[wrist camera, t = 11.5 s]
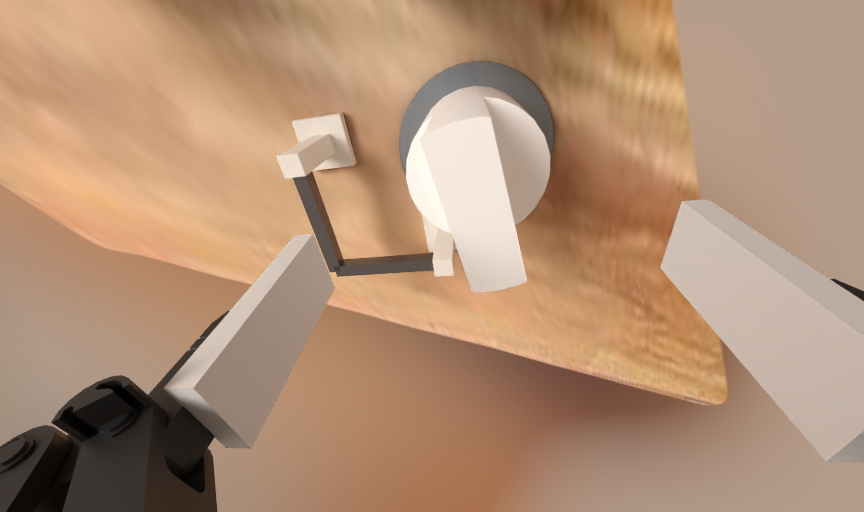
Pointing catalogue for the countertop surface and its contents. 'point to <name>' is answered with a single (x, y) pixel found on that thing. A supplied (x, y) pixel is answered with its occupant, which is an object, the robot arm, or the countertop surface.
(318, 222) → the bent wire
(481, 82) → the coaster
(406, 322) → the countertop surface
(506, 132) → the base with upright slab
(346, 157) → the wire posts
